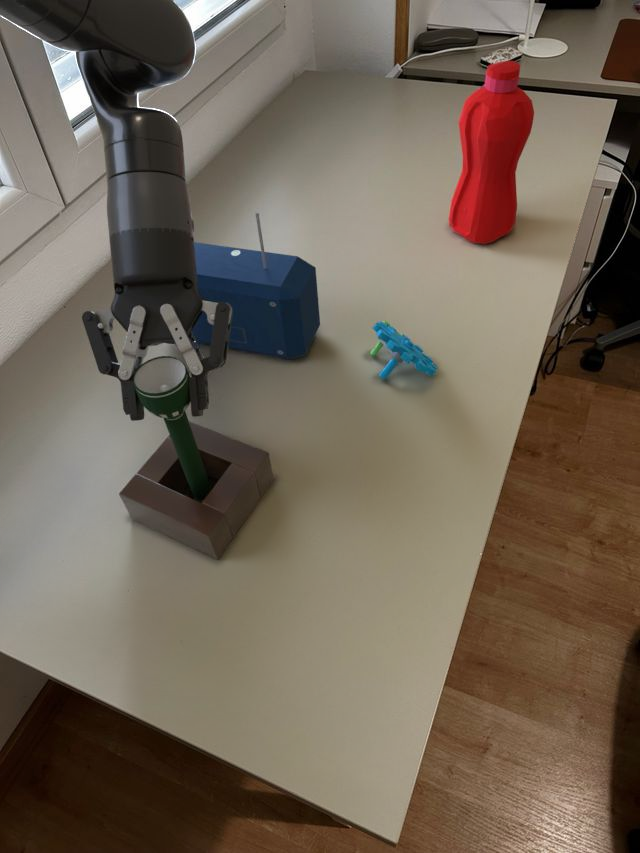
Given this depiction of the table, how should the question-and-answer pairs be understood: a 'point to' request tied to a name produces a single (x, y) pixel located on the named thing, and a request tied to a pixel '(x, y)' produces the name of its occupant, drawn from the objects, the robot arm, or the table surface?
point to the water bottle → (491, 155)
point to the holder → (222, 508)
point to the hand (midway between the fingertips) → (168, 417)
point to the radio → (259, 298)
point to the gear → (400, 350)
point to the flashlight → (173, 414)
